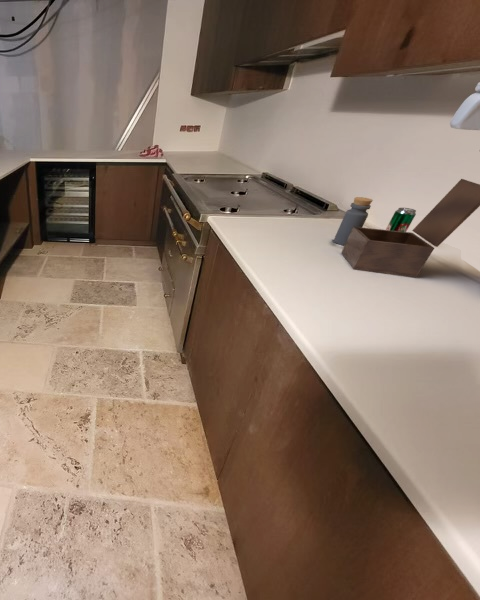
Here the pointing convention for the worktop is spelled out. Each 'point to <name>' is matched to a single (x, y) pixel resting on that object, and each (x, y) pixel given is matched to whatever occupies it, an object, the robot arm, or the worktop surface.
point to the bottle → (353, 219)
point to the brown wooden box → (386, 251)
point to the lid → (449, 212)
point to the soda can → (401, 219)
